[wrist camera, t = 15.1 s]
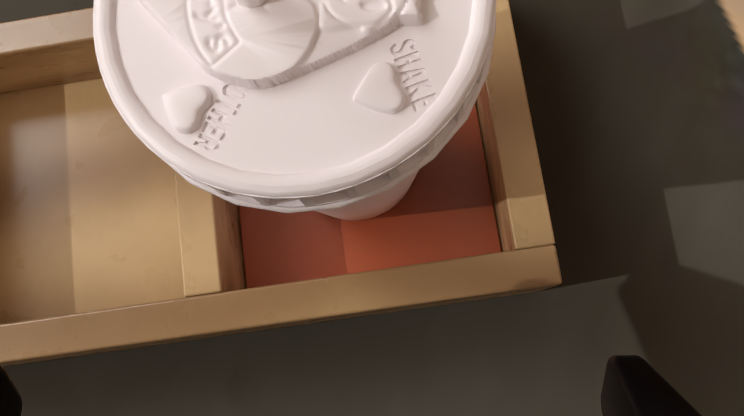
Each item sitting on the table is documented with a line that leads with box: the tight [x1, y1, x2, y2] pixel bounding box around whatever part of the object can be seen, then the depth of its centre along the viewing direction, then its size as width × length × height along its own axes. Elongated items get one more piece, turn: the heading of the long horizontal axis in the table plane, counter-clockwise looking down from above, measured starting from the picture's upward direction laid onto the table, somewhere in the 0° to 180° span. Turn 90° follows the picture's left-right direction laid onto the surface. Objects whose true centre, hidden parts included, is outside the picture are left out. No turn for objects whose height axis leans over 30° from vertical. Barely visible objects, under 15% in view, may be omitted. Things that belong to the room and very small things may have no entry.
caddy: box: [0, 0, 562, 367], centre depth 19 cm, size 10×18×3 cm, turn 98°
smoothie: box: [93, 0, 497, 220], centre depth 13 cm, size 6×6×14 cm
